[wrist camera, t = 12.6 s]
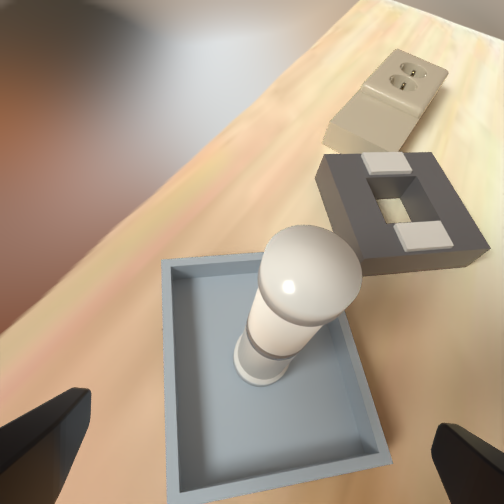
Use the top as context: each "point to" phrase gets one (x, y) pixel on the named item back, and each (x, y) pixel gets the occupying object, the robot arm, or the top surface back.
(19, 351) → the top surface
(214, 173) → the top surface
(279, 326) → the light bulb
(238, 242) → the top surface
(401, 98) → the electrical outlet
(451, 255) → the socket block
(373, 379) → the top surface
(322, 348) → the parts tray
